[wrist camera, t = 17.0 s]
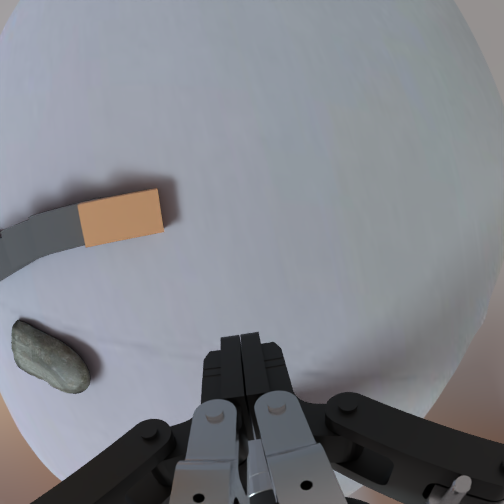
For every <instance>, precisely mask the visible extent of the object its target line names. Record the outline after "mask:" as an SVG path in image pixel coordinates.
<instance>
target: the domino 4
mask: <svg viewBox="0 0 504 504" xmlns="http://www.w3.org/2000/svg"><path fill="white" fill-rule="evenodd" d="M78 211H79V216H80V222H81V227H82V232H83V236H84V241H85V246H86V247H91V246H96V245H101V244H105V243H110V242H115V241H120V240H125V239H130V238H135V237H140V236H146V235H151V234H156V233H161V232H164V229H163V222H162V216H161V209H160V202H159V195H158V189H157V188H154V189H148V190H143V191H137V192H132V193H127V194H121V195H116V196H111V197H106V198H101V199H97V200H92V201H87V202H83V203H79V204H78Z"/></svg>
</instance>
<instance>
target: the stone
mask: <svg viewBox="0 0 504 504" xmlns="http://www.w3.org/2000/svg"><path fill="white" fill-rule="evenodd" d="M11 343H12V351H13V353H14V360H15V362H16V364H17V366H18V367H19V368H20V369H22V370H24V371H25V372H26V373H28V374H30V375H33V376H35V377H37V378H39V379H42V380H44V381H46V382H48V383H49V384H50V385H51V386H52V387H54V388H56V389H59V390H60V391H63V392H66V393H73V394H77V393H81V392H83V391H85V390H86V389H87V388H88V386H89V384H90V373H89V370H88V368H87V366H86V365H85V363H84V362H83V360H82V359H81V358H80V357H79V355H78V354H77V353H76V352H74V351H73V350H72V349H71V348H70V347H69V346H67V345H65V344H64V343H63V342H61V341H59V340H58V339H56V338H53V337H51V336H49V335H47V334H45V333H44V332H42V331H40V330H38V329H35V328H33V327H32V326H30V325H29V324H27V323H25V322H21V321H20V320H17V321H16V322H15V324H14V325H13V327H12V342H11Z"/></svg>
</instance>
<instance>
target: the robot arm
mask: <svg viewBox="0 0 504 504" xmlns="http://www.w3.org/2000/svg"><path fill="white" fill-rule="evenodd" d="M240 336H241V342H240V337H239V335H235V336H228V337H221V350H218V351H210V352H209V353H208V355H207V356H206V358H205V359H204V364H203V378H202V394H201V405H199V406H198V407H197V408H196V410H195V412H194V414H193V418H191V419H190V420H188V421H186V422H183V423H180V424H177V425H174V426H171V427H170V426H169V425H168V424H167V423H166V422H165V421H162V420H159V419H149V420H145V421H142V422H140V423H139V424H137V425H136V426H135V427H133V428H132V429H131V430H129V431H128V432H127V433H126V434H124V435H123V436H122V437H121V438H119V439H118V440H117V441H115V442H114V443H113V444H112V445H110V446H109V447H108V448H106V449H105V450H104V451H102V452H101V453H100V454H99V455H97V456H96V457H95V458H93V459H92V460H91V461H89V462H88V463H87V464H85V465H84V466H83V467H81V468H80V469H78V470H77V471H76V472H74V473H73V474H72V475H70V476H69V477H67V478H66V479H65V480H63V481H62V482H61V483H59V484H58V485H56V486H55V487H53V488H52V489H51V490H49V491H48V492H47V493H45V494H43V495H42V496H41V497H39V498H38V499H36V500H35V501H34V502H32V503H30V504H369V503H367V502H363V501H361V500H357V499H354V498H348V497H344V494H343V492H342V490H341V487H340V485H339V483H338V481H337V478H336V476H335V474H334V471H333V470H335V471H337V472H339V473H341V474H343V475H345V476H346V477H348V478H350V479H352V480H354V481H356V482H358V483H360V484H362V485H364V486H366V487H368V488H371V489H373V490H375V491H377V492H379V493H381V494H384V495H386V496H388V497H390V498H393V499H395V500H397V501H399V502H402V503H404V504H504V444H502V443H498V442H494V441H491V440H487V439H484V438H480V437H477V436H474V435H470V434H467V433H464V432H461V431H458V430H454V429H452V428H449V427H446V426H443V425H440V424H437V423H434V422H431V421H428V420H425V419H423V418H420V417H417V416H415V415H412V414H409V413H406V412H404V411H401V410H398V409H396V408H393V407H391V406H388V405H385V404H383V403H380V402H378V401H375V400H373V399H370V398H368V397H366V396H363V395H361V394H358V393H353V392H345V393H340V394H337V395H335V396H333V397H332V398H331V399H329V401H328V402H327V404H312V403H307V402H304V401H302V400H300V399H299V398H298V397H297V396H296V395H295V394H294V392H293V389H292V385H291V381H290V378H289V374H288V371H287V367H286V364H285V360H284V357H283V353H282V350H281V348H280V347H279V346H278V345H277V344H276V343H274V342H270V343H264V344H261V343H260V337H259V332H254V333H248V334H241V335H240ZM241 346H242V347H241Z"/></svg>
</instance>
